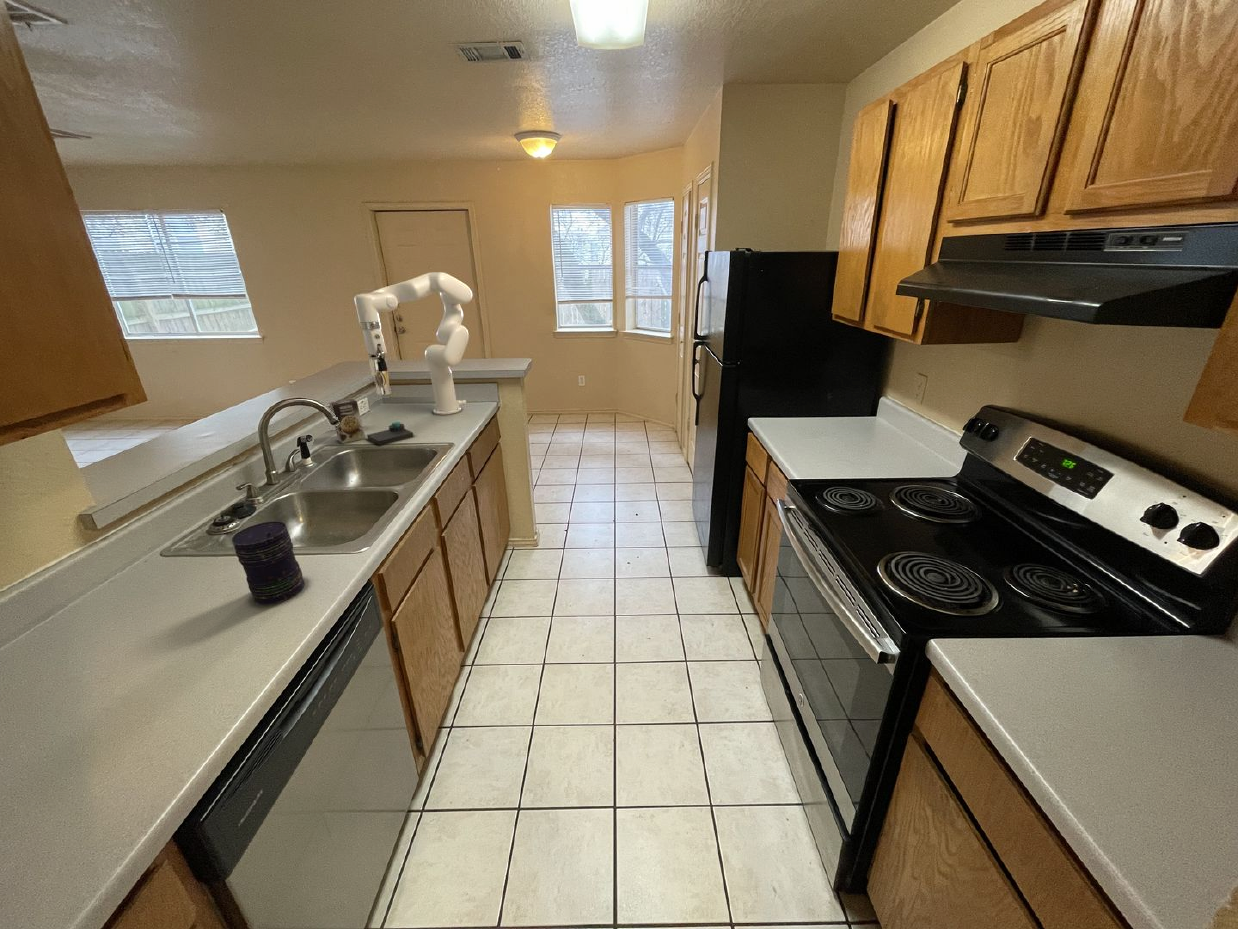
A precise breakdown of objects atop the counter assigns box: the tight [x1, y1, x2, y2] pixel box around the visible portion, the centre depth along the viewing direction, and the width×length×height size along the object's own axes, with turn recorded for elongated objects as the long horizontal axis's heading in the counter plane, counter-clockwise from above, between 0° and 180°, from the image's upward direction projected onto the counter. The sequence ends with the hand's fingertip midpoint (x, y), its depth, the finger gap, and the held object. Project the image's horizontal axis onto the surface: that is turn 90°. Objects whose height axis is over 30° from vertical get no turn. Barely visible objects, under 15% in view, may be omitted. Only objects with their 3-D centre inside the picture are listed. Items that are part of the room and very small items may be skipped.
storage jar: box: [231, 520, 306, 606], centre depth 109 cm, size 10×10×15 cm
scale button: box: [391, 421, 401, 427], centre depth 213 cm, size 3×3×2 cm
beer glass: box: [368, 356, 393, 396], centre depth 212 cm, size 7×7×15 cm
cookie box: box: [329, 398, 366, 444], centre depth 206 cm, size 9×6×16 cm
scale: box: [366, 423, 414, 446], centre depth 209 cm, size 14×12×4 cm
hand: (379, 369), depth 211 cm, fingers closed on beer glass, 7 cm apart
